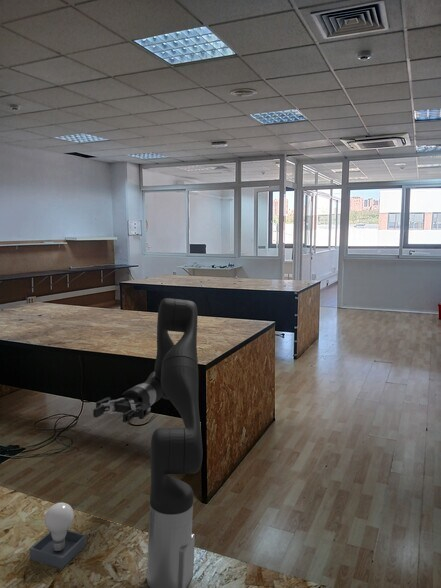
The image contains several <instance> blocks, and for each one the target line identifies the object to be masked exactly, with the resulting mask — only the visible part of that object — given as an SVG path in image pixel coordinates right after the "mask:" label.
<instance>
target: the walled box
mask: <svg viewBox="0 0 441 588" xmlns="http://www.w3.org/2000/svg"><path fill="white" fill-rule="evenodd" d="M86 546H87V534H85V533H84V534H83V533H81V532H76V531H72V530H69V529H68V530H67V534H66V537H65V548H64V549H63V550H61V551H54V550H53V539H52V536H51V532H50V531H48V532H47V533H46V534H45V535H44V536H42V537H41V538H40V539H38V541H37V542H36V543H34V544H33V545H32V546H31V547H30V548H29V560H30V561H33V562H37V563H40V564H42V565H43V564H44V565H47V566H51V567H53V568H58V569H60V570H63V569H64V568H65V567H67V566H68V564H70V563H71V561H72V560H73V559H75V557H76V556H77V555H78V554H80V552H81V551H82V550H83V549H84V548H85V547H86Z"/></svg>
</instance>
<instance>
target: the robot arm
mask: <svg viewBox="0 0 441 588" xmlns="http://www.w3.org/2000/svg"><path fill="white" fill-rule="evenodd" d="M198 315H199V314H198V307H197V304H196V303H195V302H194V301H192V300H189V299H178V298H170V297H168V298H167V297H166V298H163V299H162V300H161V301H160V304H159V306H158V311H157V320H156V322H157V325H156V355H155V356H156V357H155V362H154V368H153V369H154V370H153V371H152V372H151V373H150V374H149V376H148V377H147V379H146V380H145V381H144V382H142V383H139V384H136V385H134V386H133V387H131V388H129V389H127V390H126V391H124V392H123V393H122V394H121V396H119V397H120V398H117V399H112V398H111V397H110V396H108V397H105V398H102V399H101V400H98V401H96V402H95V408H94V409H93V410H92V411H93V418H98V417H101V416H102V415H104V414H109V415H113V414H122V423H125V424H126V423H127V422H129V421H130V422H131V420H132V419H133V420H135V419H137V418H138V419H139V420H143V419H145V418H147V416H148V415H149V414H151V409H152V408H151V406H152V405H154V404H155V403H157V402H159V400H161V399H165V400H169V401H170V403H171V404H172V405H173V406H174V408H175V409H176V411H177V412H178V414H179V415H180V417H181V420H182V422H183V424H184V427H159V428H156V429H155V430H154V431H153V433H152V435H151V440H150V495H149V496H150V497H149V516H148V519H149V521H148V541H147V542H148V544H147V546H148V547H147V569H146V573H147V574H146V582H147V586H148V587H149V588H187V587H188V585H189V583H190V582H191V580H192V578H193V576H194V565H195V563H194V562H195V541H196V540H195V539H196V538H195V537H196V535H195V533H193V532H192V531H193V518H194V517H193V513H194V490H193V488H192V486H191V485H189V484H188V483H187V482H185V481H183V480H180V479H177V478H175V477H173V476H171V475H190V474H197V473H198V472H200V470H201V468H202V464H203V455H204V454H203V438H202V429H201V418H200V408H199V362H198V360H199V359H198V348H197V343H198V341H197V340H198V338H197V337H198V333H197V332H198V320H199V319H198ZM169 332H177V333H183V334H182V336H181V338H180V339H179V340H178V341H177V342H176V343H174V342H173V339H172V338H171V336H170V334H169Z"/></svg>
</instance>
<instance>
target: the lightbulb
mask: <svg viewBox="0 0 441 588" xmlns="http://www.w3.org/2000/svg"><path fill="white" fill-rule="evenodd" d="M74 519H75V512H74V509H73V507H72V506H71V505H70V504H68V503H66V502H62V501H61V502H56V503H55V504H53V505H51V506H50V507H49V508H48V510H47V511H46V513H45V516H44V524H45V526H46V528H47V530H48V532H51V536H52V539H53V550H54V551H61V550H63V549H64V548H65V537H66V534H67V530H69V529H70V527H71V526H72V524H73V522H74Z"/></svg>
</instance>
